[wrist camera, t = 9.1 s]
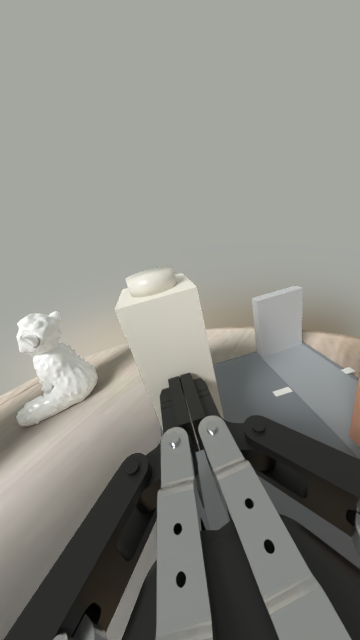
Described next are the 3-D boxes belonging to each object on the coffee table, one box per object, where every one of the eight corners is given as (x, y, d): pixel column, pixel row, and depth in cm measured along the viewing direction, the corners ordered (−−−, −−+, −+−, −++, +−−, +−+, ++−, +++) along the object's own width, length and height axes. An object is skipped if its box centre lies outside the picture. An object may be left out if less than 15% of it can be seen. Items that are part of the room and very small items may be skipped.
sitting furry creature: (61, 376, 32) (19, 308, 27) (112, 365, 32) (78, 293, 27) (19, 430, 24) (-53, 345, 19) (88, 417, 23) (32, 325, 18)
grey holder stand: (187, 664, 9) (120, 605, 5) (159, 389, 24) (137, 330, 21) (554, 519, 10) (690, 394, 6) (302, 345, 25) (303, 282, 22)
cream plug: (171, 451, 15) (107, 291, 10) (165, 406, 20) (117, 276, 14) (227, 433, 16) (192, 268, 10) (209, 392, 20) (178, 259, 15)
